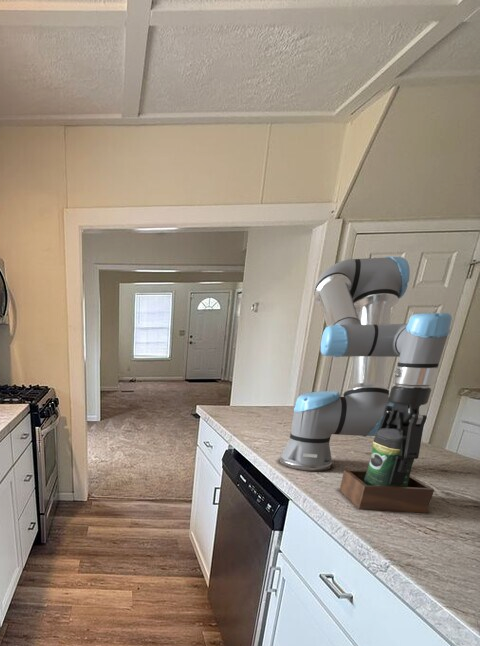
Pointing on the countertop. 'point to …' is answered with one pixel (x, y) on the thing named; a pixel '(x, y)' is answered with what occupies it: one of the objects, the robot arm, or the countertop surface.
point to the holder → (385, 494)
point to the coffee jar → (385, 458)
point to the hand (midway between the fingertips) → (386, 477)
